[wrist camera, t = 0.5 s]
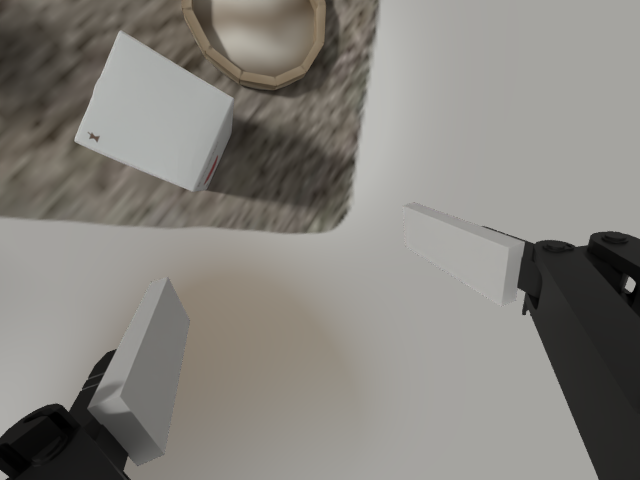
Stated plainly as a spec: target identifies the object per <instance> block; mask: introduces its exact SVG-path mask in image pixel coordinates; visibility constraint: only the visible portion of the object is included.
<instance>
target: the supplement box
mask: <svg viewBox="0 0 640 480" xmlns="http://www.w3.org/2000/svg"><path fill="white" fill-rule="evenodd" d="M233 106H234V98H233V97H231V96H229V95H227V94H226V93H224V92H222V91H221V90H219V89H217V88H216V87H214V86H212V85H210V84H209V83H207V82H205V81H204V80H202V79H200V78H198V77H197V76H195V75H193V74H192V73H190V72H188V71H187V70H185V69H183V68H182V67H180V66H178V65H177V64H175V63H173V62H172V61H170V60H169V59H167V58H166V57H164V56H162V55H161V54H159V53H157V52H156V51H154V50H153V49H151V48H149V47H148V46H146V45H144V44H143V43H141V42H140V41H138V40H136V39H135V38H133V37H131V36H130V35H128V34H127V33H125V32H123V31H120V32H119V33H118V35H117V38H116V40H115V43H114V45H113V47H112V50H111V52H110V55H109V57H108V60H107V62H106V64H105V67H104V69H103V72H102V74H101V76H100V78H99V79H98V81H97V83H96V85H95V87H94V91H93V96H92V98H91V101H90V103H89V106H88V108H87V111H86V113H85V115H84V117H83V120H82V122H81V124H80V127H79V129H78V132H77V134H76V137H75V142H77V143H78V144H80V145H83V146H85V147H87V148H89V149H91V150H93V151H96V152H98V153H100V154H103V155H105V156H107V157H109V158H112V159H114V160H116V161H119V162H121V163H124V164H126V165H128V166H131V167H133V168H136V169H138V170H140V171H143V172H145V173H148V174H150V175H153V176H155V177H158V178H160V179H163V180H165V181H168V182H170V183H173V184H175V185H178V186H180V187H183V188H185V189H188V190H190V191H193V192H194V191H202V190H207V188H208V186H209V184H210V182H211V179H212V177H213V175H214V173H215V170H216V168H217V166H218V163H219V161H220V159H221V157H222V154H223V152H224V150H225V147H226V145H227V143H228V141H229V138H230V136H231V133H232V121H233Z"/></svg>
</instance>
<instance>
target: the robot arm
mask: <svg viewBox="0 0 640 480" xmlns="http://www.w3.org/2000/svg"><path fill="white" fill-rule="evenodd" d="M403 213H404V231H405V247H406V248H408V249H410V250H411V251H413V252H415V253H416V254H418V255H419V256H421V257H422V258H424V259H426V260H427V261H429V262H430V263H432V264H434V265H435V266H437V267H438V268H440V269H442V270H443V271H445V272H447V273H448V274H450V275H451V276H453V277H455V278H456V279H458V280H459V281H461V282H462V283H464V284H466V285H467V286H469V287H471V288H472V289H474V290H475V291H477V292H478V293H480V294H482V295H483V296H485V297H486V298H488V299H490V300H491V301H493V302H495V303H496V304H498V305H499V306H504V305H506V304H508V303H510V302H513V301H515V300H516V294H517V288H519V289H521V290H523V291H525V292H526V293H525V299H524V304H523V310H522V314H523V315H526V311H527V310H529V311H530V315H531V316H532V319H533V321H534V324H535V326H536V328H537V331H538V333H539V336H540V338H541V340H542V343H543V345H544V348H545V350H546V353H547V355H548V358H549V360H550V362H551V365H552V367H553V369H554V372H555V374H556V377H557V379H558V382H559V384H560V386H561V389H562V391H563V394H564V396H565V399H566V401H567V403H568V406H569V408H570V411H571V413H572V416H573V418H574V420H575V423H576V425H577V428H578V430H579V433H580V435H581V437H582V440H583V442H584V445H585V447H586V449H587V452H588V454H589V457H590V459H591V462H592V464H593V466H594V469H595V471H596V474H597V476H598V479H599V480H640V239H638V238H636V237H633V236H630V235H627V234H622V233H620V232H613V231H608V232H598V233H594V234H592V235H591V236H590V240H589V244H588V245H587V246H580V247H575V246H574V245H572V244H569V243H566V242H562V241H555V240H545V241H540V242H536V244H533V243H531V242H528V241H525V240H522V239H519V238H517V237H514V236H510V235H508V234H506V235H505V233H502V232H499V231H498V232H497V230H494V229H491V228H488V227H484V226H479V225H476V224H473V223H471V222H468V221H465V220H462V219H459V218H457V217H454V216H451V215H448V214H445V213H443V212H440V211H437V210H434V209H432V208H429V207H426V206H423V205H420V204H418V203H415V202H413V203H410V204H407V205H404V206H403ZM629 276H630V277H631V278H632V279H633V280H634V281H635V282H636V285H635V288H634V290H633V292H632V293H631V292H629V291H628V290H626V289H625V285H626V283H627V280H628V277H629ZM189 323H190V320H189V318H188V316H187V314H186V312H185V310H184V308H183V306H182V304H181V302H180V300H179V298H178V296H177V294H176V292H175V290H174V288H173V286H172V284H171V282H170V280H169V278H168V277H166V278H163V279H159V280H156V281H153V282H151V283H150V285H149V287H148V289H147V291H146V293H145V295H144V297H143V299H142V301H141V303H140V305H139V307H138V309H137V311H136V313H135V315H134V317H133V319H132V321H131V323H130V325H129V327H128V329H127V331H126V333H125V335H124V337H123V339H122V341H121V342H120V344H119V346H118V348H117V349H115V350H113V351H110V352H107V353H106V354H105V355H104V356H103V357H102V359H101V360H100V361H99V362H98V363H97V364H96V365H95V366H94V368H93V370H92V372H91V373H90V375H89V377H88V380H87V381H86V382H85V384H84V386H83V388H82V391H80V393H79V395H78V397H77V398H76V400H75V402H74V404H73V405H72V407H71V409H70V411H69V412H68V411H67V410H66V409H65V408H64V407H63V406H62V405H59V404H51V405H46V406H44V407H42V408H39V409H37V410H35V411H33V412H32V413H30V414H28V415H27V416H25V417H24V418H22V419H21V420H20V421H18V422H17V423H16V424H14V425H13V426H12V427H11V428H9V429H8V430H7V431H6V432H5V433H4V434H3V435H2V436H1V438H0V470H1V471H2V472H4V473H5V474H6V475H8V476H9V478H7V479H6V480H131V479H130V478H129V477H128V476H127V475H126V474H125V473H124V472H123V470H124V467H125V464H126V460H127V457H128V456H129V457H130V459H131V460H132V461H133V462H134V463H135V464H136V465H137V466H139V465H141V464H144V463H146V462H148V461H151V460H153V459H155V458H157V457H160V456H162V455H164V454H165V448H166V443H167V438H168V433H169V428H170V422H171V417H172V412H173V407H174V401H175V396H176V391H177V386H178V381H179V375H180V370H181V365H182V360H183V354H184V349H185V344H186V338H187V333H188V328H189Z"/></svg>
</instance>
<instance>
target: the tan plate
mask: <svg viewBox="0 0 640 480" xmlns="http://www.w3.org/2000/svg"><path fill="white" fill-rule="evenodd" d="M325 4H326V3H325V0H182V11H183V15H184V18H185V21H186V22H187V24H188V26H189V28H190V30H191V32H192V34H193V36H194V38H195V41H196V42H197V44H198V46H199V47H200V49H201V51H202V52H203V54H204V56H205V58H206V59H207V60H208V61H209V62H211V63H212V64H213V65H214V66H215V67H216V68H217V69H218V70H219V71H220V72H221V73H223V74H224V75H225V76H227V77H228V78H230V79H231V80H233V81H235V82H237V83H238V84H240V85H244V86H246V87H249V88H254V89H260V90H277V89H279V88H283V87H285V86H288V85H290V84H292V83H294V82H295V81H297V80H299V79H301V78H303V77H304V75H305V74H306V73H307V71H308V69H309V68H310V66H311V64H312V63H313V61H314V59H315V58H316V56H317V54H318V53H319V51H320V49H321V48H322V46H323V45H324V37H325V16H326V5H325Z"/></svg>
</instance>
